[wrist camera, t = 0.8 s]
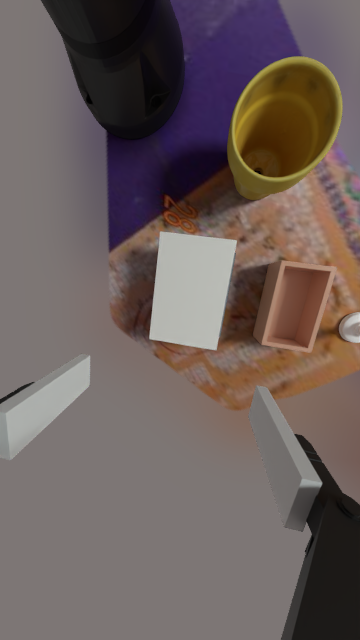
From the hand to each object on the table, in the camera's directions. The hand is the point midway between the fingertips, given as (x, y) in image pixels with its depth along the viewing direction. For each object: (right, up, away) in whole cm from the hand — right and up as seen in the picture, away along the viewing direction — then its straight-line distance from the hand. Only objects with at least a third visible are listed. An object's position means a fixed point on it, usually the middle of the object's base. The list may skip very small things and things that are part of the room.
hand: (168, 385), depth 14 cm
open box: (+18, +8, +16) cm, 25 cm away
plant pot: (+12, +26, +13) cm, 32 cm away
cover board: (+2, +9, +13) cm, 16 cm away
